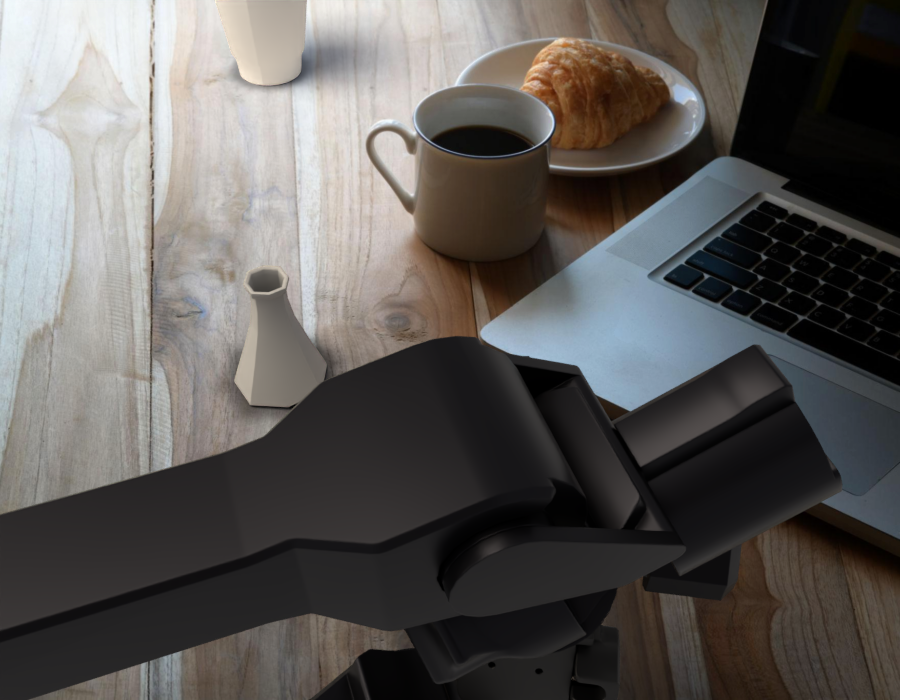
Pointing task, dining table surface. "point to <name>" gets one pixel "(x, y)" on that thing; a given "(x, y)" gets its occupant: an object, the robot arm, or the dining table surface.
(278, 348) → the flask
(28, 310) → the dining table surface
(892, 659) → the dining table surface
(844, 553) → the dining table surface
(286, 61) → the cup
